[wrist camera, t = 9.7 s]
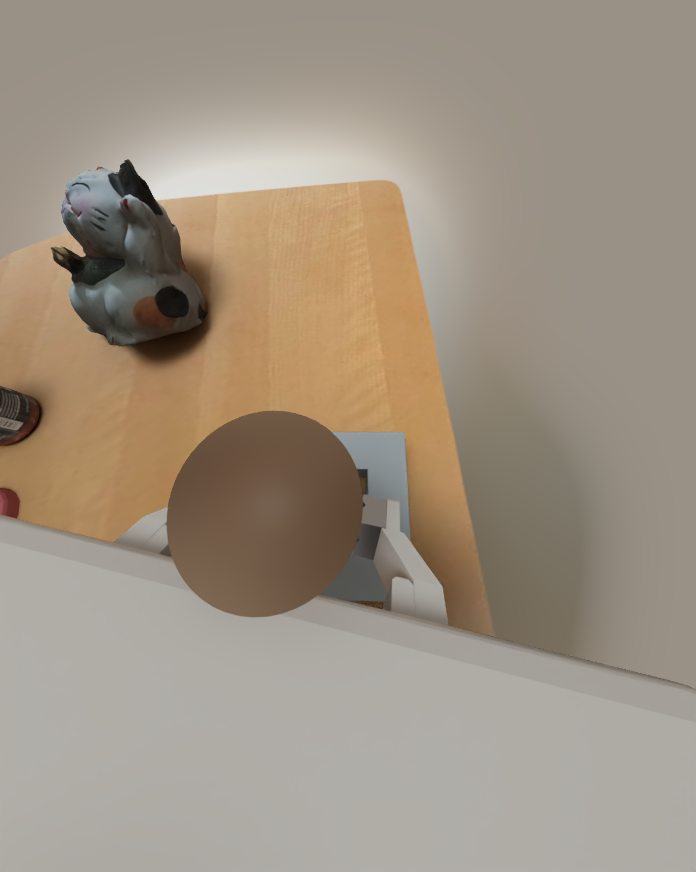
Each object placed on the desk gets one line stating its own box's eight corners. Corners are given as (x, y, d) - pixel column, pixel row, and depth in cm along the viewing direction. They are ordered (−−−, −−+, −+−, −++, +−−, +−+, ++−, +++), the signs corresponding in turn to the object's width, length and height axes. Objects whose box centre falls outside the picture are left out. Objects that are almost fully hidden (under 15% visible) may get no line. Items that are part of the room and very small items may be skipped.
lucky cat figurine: (81, 321, 31) (-37, 150, 21) (183, 301, 37) (129, 163, 27) (115, 367, 24) (-40, 140, 14) (234, 333, 30) (185, 161, 20)
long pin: (360, 537, 18) (363, 620, 4) (304, 536, 18) (145, 614, 5) (359, 480, 19) (362, 410, 6) (307, 480, 19) (187, 411, 6)
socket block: (401, 581, 22) (414, 602, 17) (264, 579, 22) (239, 598, 17) (395, 446, 25) (404, 432, 20) (276, 447, 25) (257, 432, 21)
